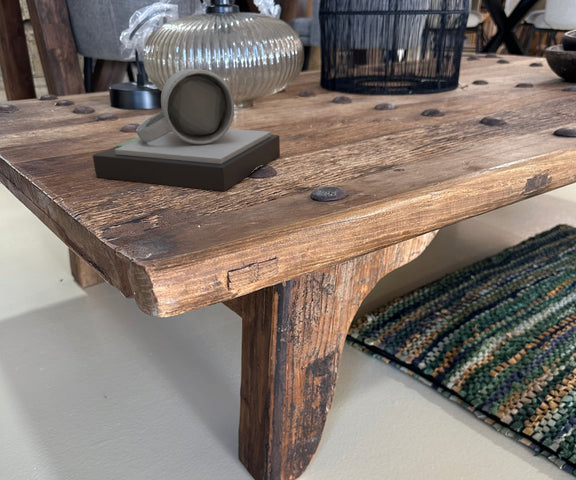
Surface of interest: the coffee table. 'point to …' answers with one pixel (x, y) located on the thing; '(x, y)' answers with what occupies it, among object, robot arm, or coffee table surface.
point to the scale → (189, 160)
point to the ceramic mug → (191, 108)
